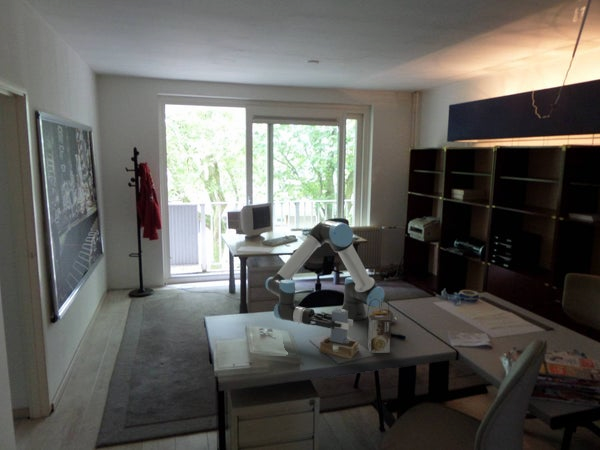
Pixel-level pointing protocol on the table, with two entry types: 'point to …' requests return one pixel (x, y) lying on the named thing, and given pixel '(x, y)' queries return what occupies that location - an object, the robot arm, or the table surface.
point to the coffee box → (379, 334)
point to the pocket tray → (339, 348)
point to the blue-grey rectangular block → (338, 333)
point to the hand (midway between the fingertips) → (350, 324)
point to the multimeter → (378, 313)
